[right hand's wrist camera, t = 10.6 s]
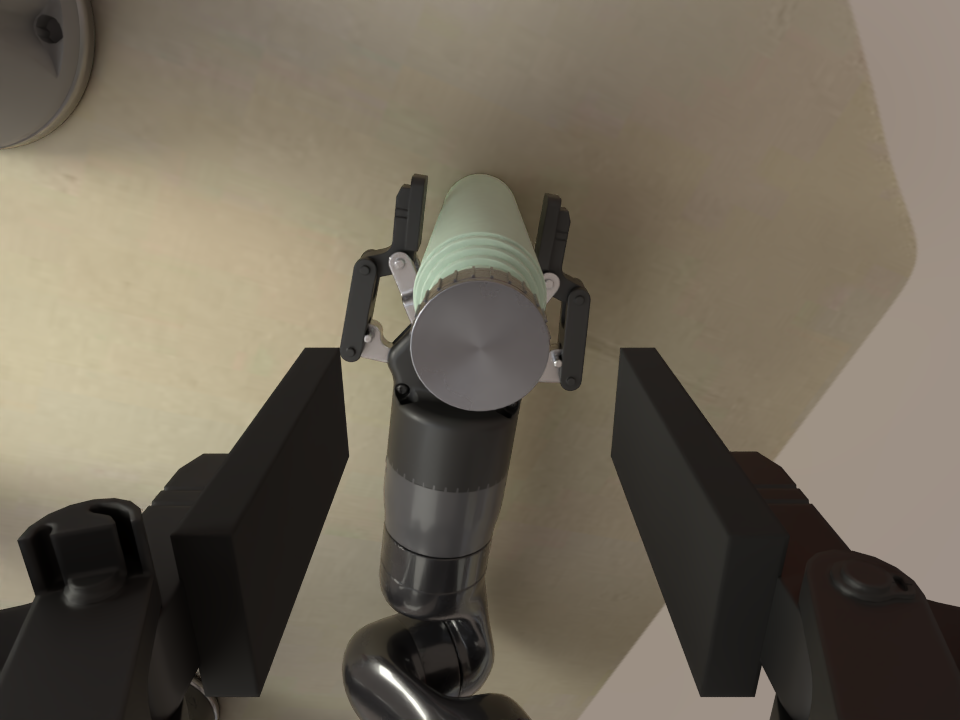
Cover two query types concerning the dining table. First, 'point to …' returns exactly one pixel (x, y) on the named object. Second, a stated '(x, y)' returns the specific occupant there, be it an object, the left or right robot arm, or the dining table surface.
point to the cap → (479, 339)
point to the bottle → (480, 237)
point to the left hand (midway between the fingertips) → (486, 186)
